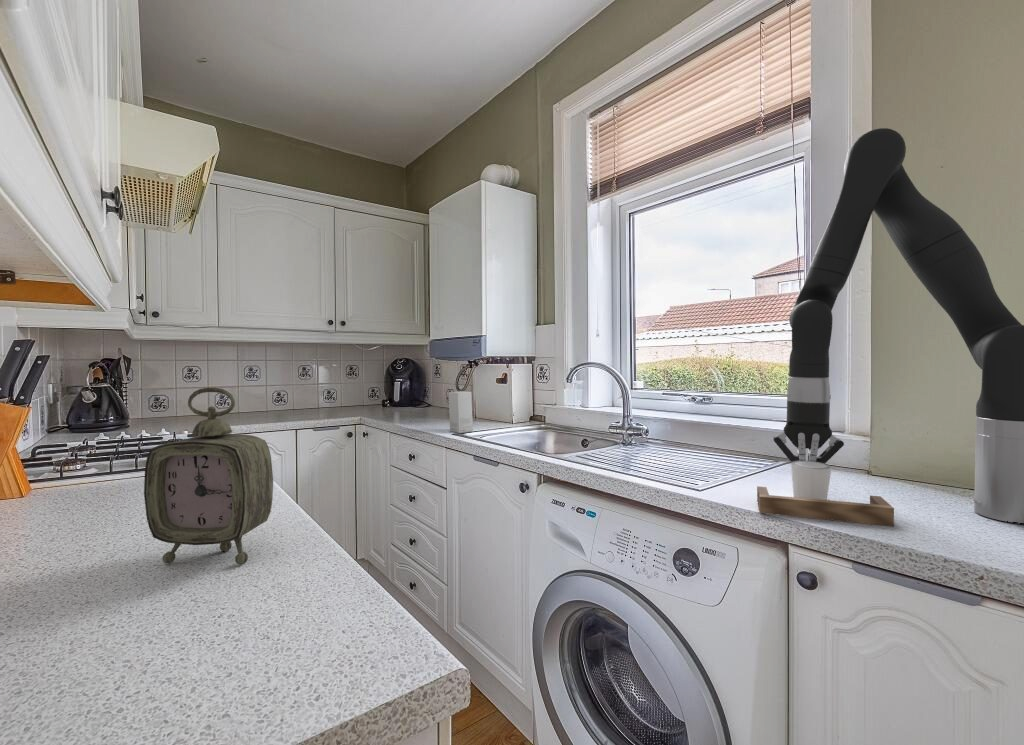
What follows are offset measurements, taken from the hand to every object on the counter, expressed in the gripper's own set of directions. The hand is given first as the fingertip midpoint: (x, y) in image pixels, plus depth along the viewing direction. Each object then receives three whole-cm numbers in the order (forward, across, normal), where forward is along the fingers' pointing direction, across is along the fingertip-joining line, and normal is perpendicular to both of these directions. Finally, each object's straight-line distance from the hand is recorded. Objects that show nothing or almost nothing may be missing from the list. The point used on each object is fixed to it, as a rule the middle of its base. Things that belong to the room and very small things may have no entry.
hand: (806, 483), depth 102 cm
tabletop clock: (+3, +83, +68) cm, 108 cm away
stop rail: (+2, -1, +13) cm, 13 cm away
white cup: (+2, 0, +4) cm, 5 cm away
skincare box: (+4, +110, -51) cm, 122 cm away
